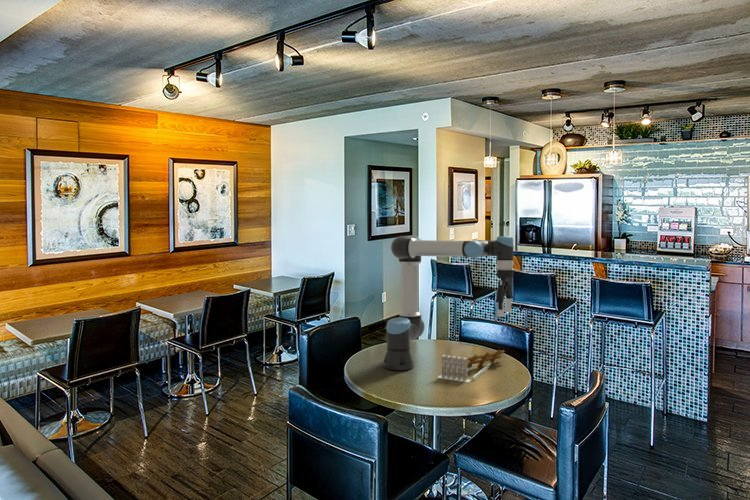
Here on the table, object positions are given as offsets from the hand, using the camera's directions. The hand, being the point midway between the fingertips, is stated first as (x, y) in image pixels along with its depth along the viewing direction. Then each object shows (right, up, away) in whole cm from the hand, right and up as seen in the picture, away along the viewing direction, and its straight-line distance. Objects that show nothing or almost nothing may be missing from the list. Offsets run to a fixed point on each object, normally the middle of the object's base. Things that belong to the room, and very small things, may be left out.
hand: (504, 314), depth 234 cm
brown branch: (-8, -28, +15) cm, 32 cm away
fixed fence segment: (-25, -29, -6) cm, 38 cm away
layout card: (-25, -29, -6) cm, 39 cm away
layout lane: (-10, -28, +9) cm, 31 cm away
